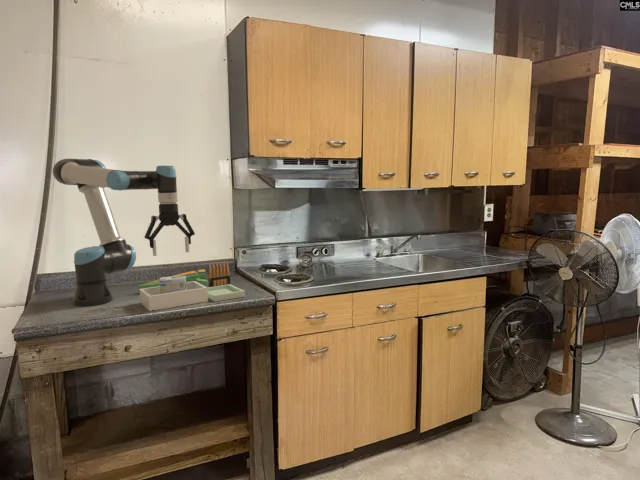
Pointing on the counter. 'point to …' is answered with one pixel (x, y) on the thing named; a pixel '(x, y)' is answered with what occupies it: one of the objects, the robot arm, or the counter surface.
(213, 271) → the ammunition clip
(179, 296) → the deep bin
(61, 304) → the counter surface
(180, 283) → the light bulb box
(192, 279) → the toy spaceship
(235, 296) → the tray
